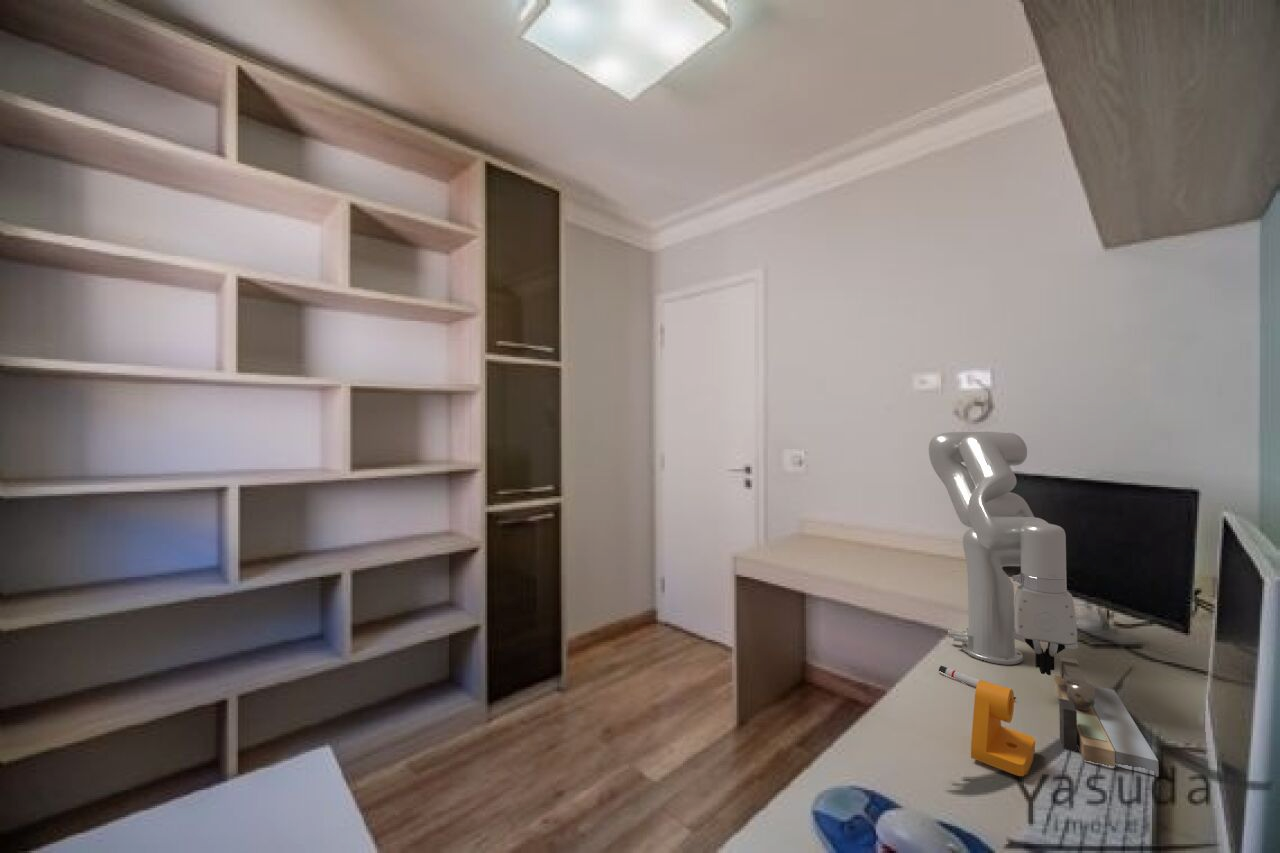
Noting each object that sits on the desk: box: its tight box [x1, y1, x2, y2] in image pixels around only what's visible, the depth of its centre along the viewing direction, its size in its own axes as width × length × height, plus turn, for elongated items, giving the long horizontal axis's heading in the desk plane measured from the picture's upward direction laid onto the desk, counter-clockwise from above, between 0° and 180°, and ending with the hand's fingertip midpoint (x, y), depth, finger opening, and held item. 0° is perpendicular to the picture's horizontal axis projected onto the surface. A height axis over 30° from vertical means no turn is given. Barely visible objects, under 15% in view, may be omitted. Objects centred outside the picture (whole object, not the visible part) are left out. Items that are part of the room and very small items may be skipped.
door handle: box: [1059, 656, 1095, 706], centre depth 104 cm, size 14×4×4 cm, turn 149°
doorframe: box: [1054, 674, 1160, 778], centre depth 99 cm, size 12×28×7 cm, turn 149°
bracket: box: [970, 679, 1036, 777], centre depth 90 cm, size 11×7×12 cm, turn 134°
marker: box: [938, 665, 1017, 701], centre depth 114 cm, size 15×2×2 cm, turn 31°
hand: (1044, 671), depth 109 cm, fingers closed
